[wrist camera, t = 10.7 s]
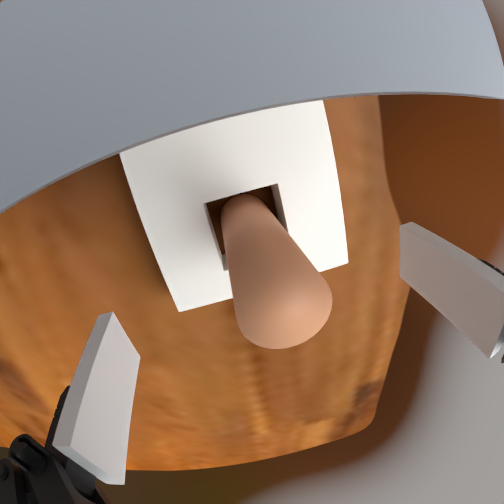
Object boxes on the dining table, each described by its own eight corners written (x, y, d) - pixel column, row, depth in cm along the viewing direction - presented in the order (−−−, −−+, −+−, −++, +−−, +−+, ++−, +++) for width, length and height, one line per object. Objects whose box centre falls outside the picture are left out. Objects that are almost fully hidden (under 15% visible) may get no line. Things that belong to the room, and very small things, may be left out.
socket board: (176, 294, 24) (158, 483, 9) (111, 102, 17) (-65, 68, 2) (338, 247, 25) (467, 381, 9) (301, 53, 18) (461, -41, 2)
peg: (214, 201, 22) (223, 284, 10) (261, 188, 22) (326, 254, 10) (227, 245, 23) (250, 358, 11) (272, 232, 23) (335, 331, 12)
